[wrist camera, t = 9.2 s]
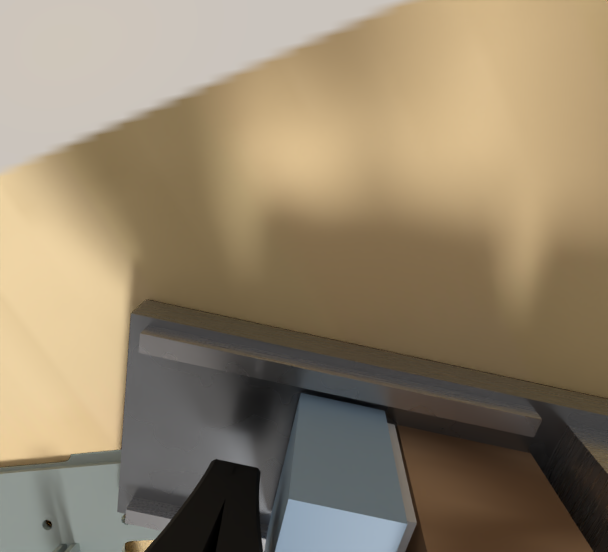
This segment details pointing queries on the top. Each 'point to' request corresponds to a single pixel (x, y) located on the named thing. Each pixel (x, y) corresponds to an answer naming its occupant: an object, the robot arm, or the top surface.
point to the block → (481, 498)
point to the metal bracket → (66, 506)
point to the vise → (333, 385)
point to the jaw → (341, 483)
